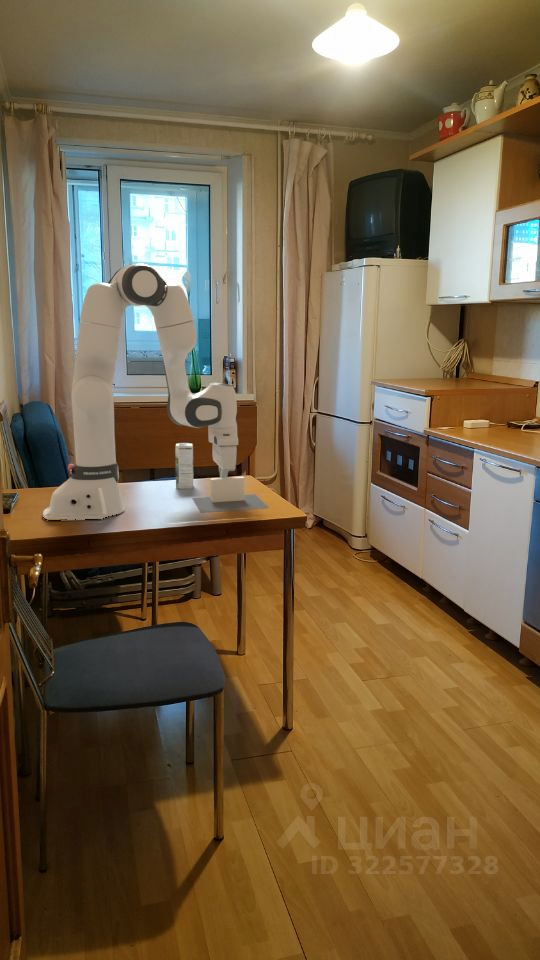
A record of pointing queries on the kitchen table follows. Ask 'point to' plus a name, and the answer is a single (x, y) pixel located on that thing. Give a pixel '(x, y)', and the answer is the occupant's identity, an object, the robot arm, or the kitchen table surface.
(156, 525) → the kitchen table surface
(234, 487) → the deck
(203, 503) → the mat
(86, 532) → the kitchen table surface
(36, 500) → the kitchen table surface
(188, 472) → the syrup box
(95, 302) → the robot arm
